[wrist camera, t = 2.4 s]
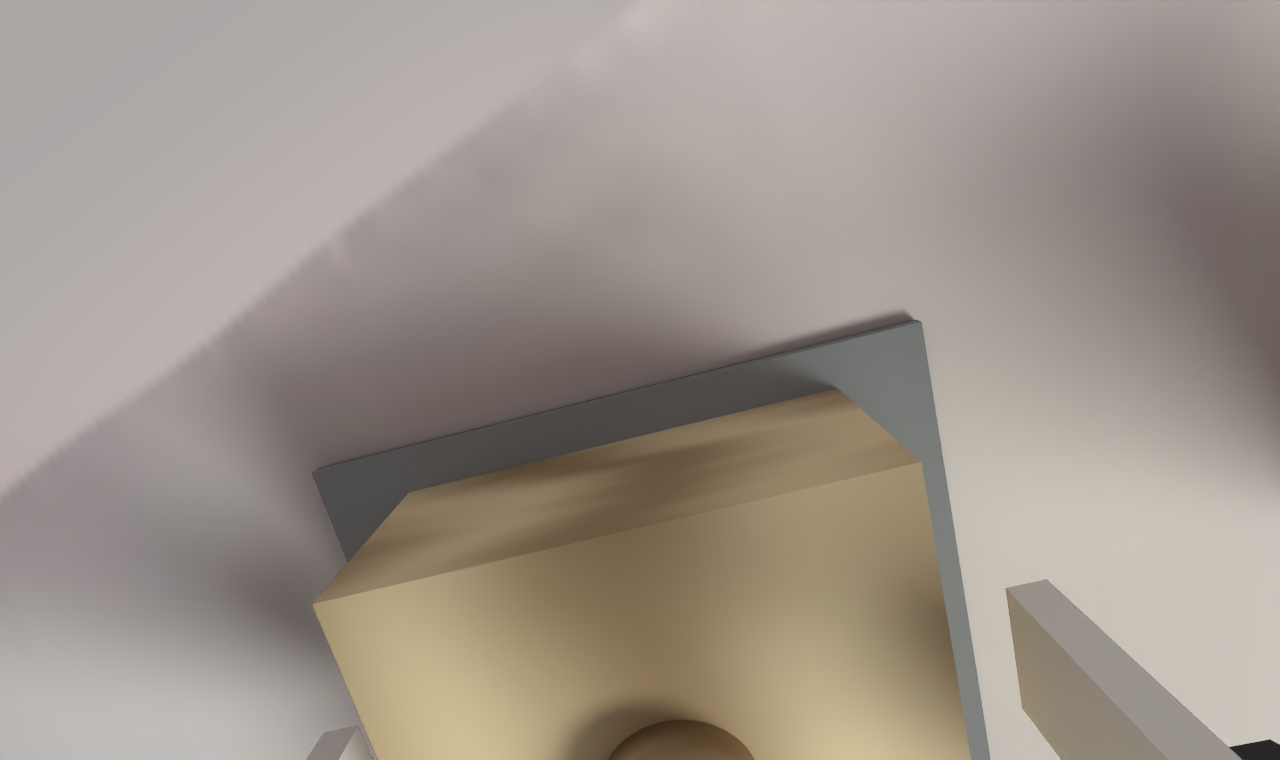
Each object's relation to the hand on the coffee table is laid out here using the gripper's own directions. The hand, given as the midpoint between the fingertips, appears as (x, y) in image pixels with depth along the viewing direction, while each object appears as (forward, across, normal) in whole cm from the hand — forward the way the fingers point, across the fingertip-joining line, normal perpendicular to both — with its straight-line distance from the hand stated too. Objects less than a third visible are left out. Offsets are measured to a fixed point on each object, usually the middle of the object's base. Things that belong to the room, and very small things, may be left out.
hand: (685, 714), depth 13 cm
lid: (+3, 0, 0) cm, 3 cm away
